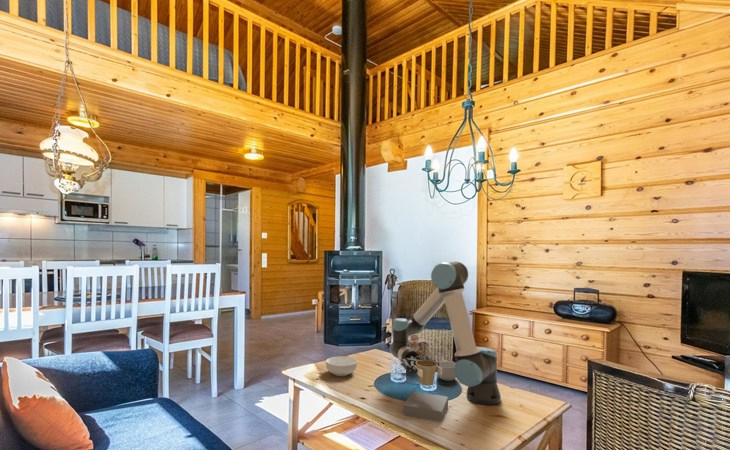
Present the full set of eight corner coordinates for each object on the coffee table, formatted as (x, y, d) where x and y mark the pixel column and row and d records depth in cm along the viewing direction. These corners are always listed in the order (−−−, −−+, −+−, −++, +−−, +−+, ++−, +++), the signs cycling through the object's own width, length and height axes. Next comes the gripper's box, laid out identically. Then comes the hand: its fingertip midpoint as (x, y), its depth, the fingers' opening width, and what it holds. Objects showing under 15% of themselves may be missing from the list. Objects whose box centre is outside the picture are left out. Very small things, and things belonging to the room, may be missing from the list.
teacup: (457, 383, 195) (458, 367, 195) (436, 381, 197) (436, 366, 197) (456, 374, 209) (457, 359, 209) (436, 372, 211) (436, 358, 211)
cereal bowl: (363, 374, 206) (363, 361, 206) (339, 381, 195) (339, 367, 195) (343, 366, 218) (343, 353, 219) (319, 373, 207) (319, 359, 207)
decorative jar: (400, 366, 221) (400, 334, 221) (414, 362, 228) (415, 332, 228) (414, 372, 211) (415, 339, 212) (429, 368, 218) (429, 336, 219)
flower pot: (434, 379, 169) (435, 359, 169) (439, 387, 160) (439, 366, 160) (413, 379, 169) (413, 359, 169) (417, 387, 159) (417, 366, 160)
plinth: (447, 406, 168) (448, 396, 168) (441, 421, 153) (441, 411, 153) (412, 400, 174) (412, 391, 174) (403, 414, 159) (403, 405, 159)
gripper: (428, 362, 185) (453, 379, 163) (387, 366, 178) (408, 384, 156) (428, 347, 185) (453, 361, 163) (388, 350, 178) (408, 366, 157)
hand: (431, 372), depth 160 cm, fingers closed on flower pot, 8 cm apart
